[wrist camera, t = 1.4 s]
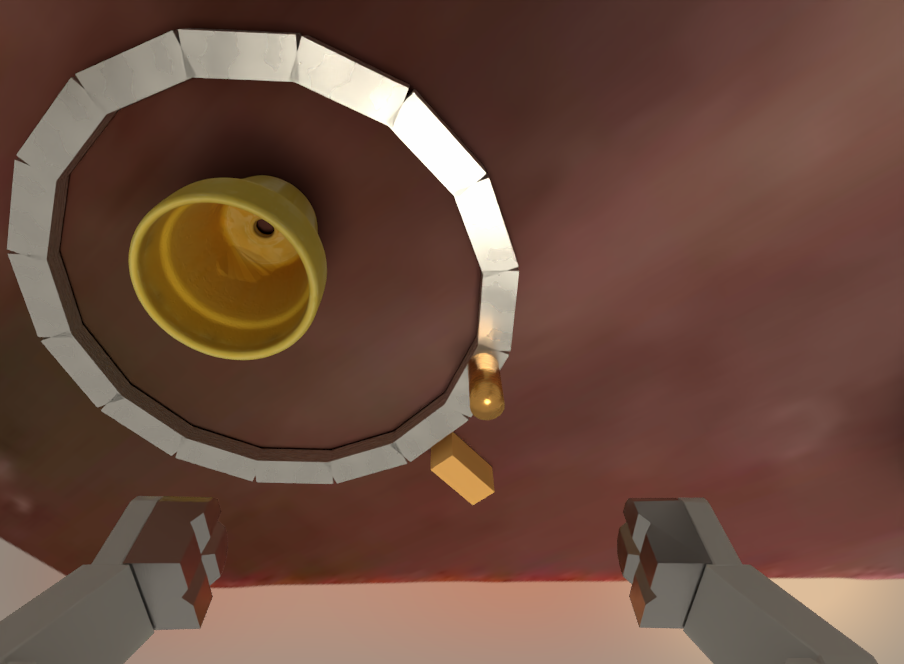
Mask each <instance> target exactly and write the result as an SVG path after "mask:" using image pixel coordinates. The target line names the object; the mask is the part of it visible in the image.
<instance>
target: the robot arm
mask: <svg viewBox="0 0 904 664" xmlns="http://www.w3.org/2000/svg"><path fill="white" fill-rule="evenodd" d="M623 513H624V516H625V519H626V523H625V524H624V525H622V526H621V527H620V528H619V533H618V539H617V554H618V559H619V565H620V568H621V572H622V575H623V577H624V578H626V579H627V580H628V581H629V582H630V583H631V584H632V587H631V591H630V595H629V597H630V600H631V603H632V606H633V609H634V612H635V615H636V619H637V622H638V625H639V627H645V628H683V629H684V630H683V631H684V632H685V633H686V634H687V635H688V636H689V638H691V640H692V641H693V642H694V643H695V644H696V645H697V646H698V647H699V648H700V649H701V650H702V652H703V653H704V654H705V655H706V656H707V657H708V658H709V659H710V660H711V661H712V662H713V663H714V664H878V663H877V661H876V660H875V659H874V657H873V656H872V655H871V654H869V653H868V652H867V651H865V650H864V649H863V648H861V647H860V646H858V645H857V644H856V643H855V642H853V641H852V640H851V639H849V638H848V637H846V636H845V635H844V634H843V633H841V632H840V631H838V630H837V629H836V628H834V627H833V626H832V625H830V624H829V623H828V622H826V621H825V620H824V619H822V618H821V617H820V616H818V615H817V614H816V613H814V612H813V611H812V610H810V609H809V608H807V607H806V606H805V605H803V604H802V603H801V602H799V601H798V600H797V599H795V598H794V597H793V596H791V595H790V594H788V593H787V592H786V591H785V590H783V589H782V588H780V587H779V586H778V585H777V584H775V583H774V582H772V581H771V580H770V579H768V578H767V577H766V576H764V575H763V574H762V573H760V572H759V571H758V570H756V569H755V568H754V567H752V566H751V565H742V563H741V561H740V559H739V557H738V556H737V554H736V552H735V550H734V548H733V546H732V545H731V543H730V541H729V539H728V537H727V535H726V534H725V532H724V530H723V528H722V526H721V524H720V522H719V521H718V519H717V517H716V515H715V513H714V511H713V510H712V508H711V506H710V504H709V502H708V501H707V500H706V499H704V498H678V499H677V498H629V499H628V500H627V501H626V503H625V507H624V511H623ZM220 514H221V508H220V504H219V501H218V499H216V498H211V497H175V496H163V497H157V496H137V497H136V498H135V499H133V500H132V501H131V502H130V503H129V505H128V506H127V508H126V510H125V511H124V513H123V514H122V516H121V518H120V519H119V521H118V522H117V524H116V526H115V527H114V529H113V530H112V532H111V534H110V535H109V537H108V538H107V540H106V542H105V543H104V545H103V546H102V548H101V550H100V551H99V553H98V554H97V556H96V558H95V559H94V561H93V563H92V564H91V565H82V566H81V567H79V568H78V569H76V570H75V571H73V572H72V573H70V574H69V575H68V576H66V577H65V578H63V579H62V580H60V581H59V582H57V583H56V584H54V585H53V586H52V587H50V588H49V589H47V590H46V591H44V592H43V593H41V594H40V595H38V596H37V597H36V598H34V599H32V600H31V601H29V602H28V603H27V604H25V605H24V606H22V607H21V608H19V609H18V610H16V611H15V612H13V613H12V614H10V615H9V616H7V617H6V618H5V619H3V620H2V621H0V664H124V663H125V662H126V661H127V660H128V658H130V657H131V655H132V654H134V653H135V652H136V650H138V648H140V646H141V645H143V644H144V643H145V641H147V640H148V639H149V637H150V636H151V635H152V634H153V633H154V630H168V629H199V628H201V625H202V623H203V620H204V618H205V615H206V613H207V610H208V607H209V605H210V602H211V600H212V597H213V596H212V593H211V589H210V585H211V584H212V583H213V582H214V581H216V580H217V579H218V578H219V577H220V576H221V573H222V571H223V568H224V565H225V561H226V555H227V549H228V539H227V532H226V528H225V527H224V526H223V525H222V524H221V523H220V522H218V518H219V516H220Z"/></svg>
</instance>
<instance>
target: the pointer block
mask: <svg viewBox="0 0 904 664" xmlns="http://www.w3.org/2000/svg"><path fill="white" fill-rule="evenodd" d="M431 470H432V471H433V472H434V473H435V474H436V475H438V476H439V477H440V478H441V479H442V480H443V481H445V482H446V483H447V484H448V485H449V486H451V487H452V488H453V489H454V490H455V491H457V492H458V493H459V494H460V495H461V496H462V497H464V498H465V499H466V500H467V501H468V502H470V503H471V504H472V505H474V504H476V503H477V502H479V501H480V500H482V499H484V498H485V497H487V496H489V495H490V494H492V493H494V482H493V472H492V467H491V466H490V465H489V464H488V463H487V462H486V461H485V460H484V459H482V458H481V457H480V456H479V455H478V454H477V453H476V452H475V451H474V450H472V449H471V448H470V447H469V446H468V445H467V444H466V443H465V442H464V441H462V440H461V439H460V438H459V437H458V436H457V435H456V434H455V433H454V432H451V433H450V434H449V435H447V436H446V437H444V438H443V439H442V440H440V441H439V442H438V443H436V444H435V445H433V446H432V447H431Z"/></svg>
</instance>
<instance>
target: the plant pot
mask: <svg viewBox="0 0 904 664" xmlns="http://www.w3.org/2000/svg"><path fill="white" fill-rule="evenodd" d="M260 219H263V220H265V221H267V222H268V223H269V224H271V225H272V226H273V228H274V232H273V233H272V234H270V235H266V234H263V233H261V232H260V231H259V230H258V229H257V227H256V223H257V221H258V220H260ZM129 271H130V276H131V281H132V284H133V287H134V289H135V292H136V294H137V296H138V298H139V300H140V302H141V304H142V305H143V307H144V308H145V310H146V311H147V313H148V314H149V315H150V316H151V318H152V319H153V320H154V321H155V322H156V323H157V324H158V325H159V326H160V327H161V328H162V329H163V330H165V331H166V332H167V333H168V334H169V335H171V336H172V337H174V338H175V339H177V340H178V341H180V342H181V343H183V344H185V345H187V346H188V347H190V348H192V349H195V350H197V351H199V352H202V353H205V354H208V355H211V356H215V357H219V358H224V359H233V360H252V359H259V358H264V357H268V356H271V355H274V354H276V353H279V352H281V351H283V350H285V349H286V348H288V347H290V346H291V345H293V344H294V343H295V342H296V341H297V340H299V339H300V338H301V337H302V336H303V334H304V333H305V332H306V331H307V329H308V328H309V326H310V325H311V323H312V321H313V319H314V317H315V315H316V312H317V310H318V307H319V304H320V302H321V299H322V295H323V292H324V288H325V284H326V278H327V263H326V256H325V251H324V248H323V245H322V243H321V240H320V238H319V236H318V226H317V219H316V215H315V212H314V210H313V208H312V206H311V204H310V202H309V201H308V199H307V198H306V197H305V196H304V195H303V193H302V192H301V191H299V190H298V189H297V188H296V187H295V186H293V185H292V184H290V183H288V182H286V181H284V180H282V179H279V178H276V177H272V176H266V175H258V176H251V177H247V178H243V179H237V178H211V179H205V180H201V181H197V182H195V183H192V184H189V185H187V186H185V187H183V188H181V189H179V190H178V191H176V192H174V193H173V194H171V195H170V196H168V197H167V198H166V199H164V200H163V201H161V202H160V203H159V204H158V205H156V206H155V207H154V208H153V209H151V210H150V211H149V212H148V213H147V214H146V215H145V217H144V218H143V219H142V220H141V222H140V223H139V225H138V226H137V228H136V230H135V232H134V235H133V237H132V241H131V244H130V249H129Z"/></svg>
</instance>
